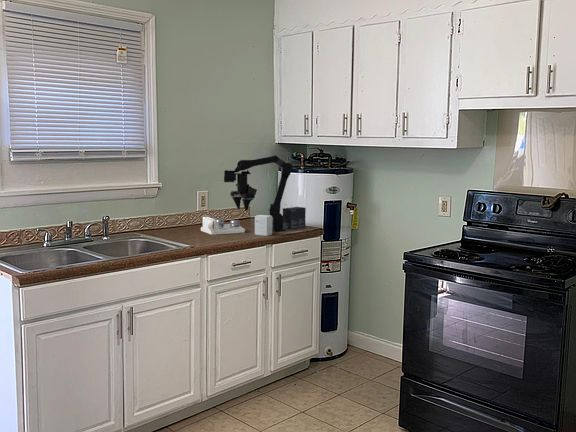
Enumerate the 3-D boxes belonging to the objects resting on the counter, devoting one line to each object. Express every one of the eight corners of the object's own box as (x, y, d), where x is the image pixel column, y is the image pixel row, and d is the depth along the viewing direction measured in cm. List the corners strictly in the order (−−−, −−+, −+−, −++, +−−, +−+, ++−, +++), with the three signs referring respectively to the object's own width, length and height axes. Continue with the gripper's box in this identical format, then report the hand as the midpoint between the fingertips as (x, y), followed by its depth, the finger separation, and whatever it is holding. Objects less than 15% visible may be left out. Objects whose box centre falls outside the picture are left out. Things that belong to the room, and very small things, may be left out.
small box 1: (272, 234, 330) (272, 215, 328) (266, 236, 325) (267, 216, 324) (260, 233, 334) (260, 214, 332) (254, 234, 329) (254, 215, 328)
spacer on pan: (225, 225, 338) (225, 220, 338) (217, 225, 336) (217, 220, 335) (221, 224, 342) (221, 218, 342) (213, 224, 340) (213, 219, 339)
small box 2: (297, 226, 363) (297, 206, 361) (305, 227, 358) (306, 207, 356) (281, 228, 353) (282, 208, 352) (290, 229, 348) (290, 209, 347)
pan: (242, 228, 336) (242, 226, 336) (222, 229, 330) (222, 227, 330) (232, 225, 346) (232, 223, 346) (213, 226, 340) (213, 224, 340)
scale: (244, 232, 335) (245, 218, 334) (209, 234, 324) (209, 220, 323) (233, 228, 348) (233, 214, 347) (198, 230, 337) (198, 216, 336)
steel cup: (240, 226, 336) (240, 220, 335) (232, 226, 333) (232, 221, 333) (237, 225, 340) (237, 219, 340) (228, 225, 338) (228, 220, 337)
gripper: (263, 183, 335) (263, 210, 337) (247, 180, 351) (247, 207, 353) (245, 183, 329) (245, 212, 331) (229, 181, 345) (230, 208, 347)
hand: (242, 209), depth 341 cm, fingers open, 9 cm apart
